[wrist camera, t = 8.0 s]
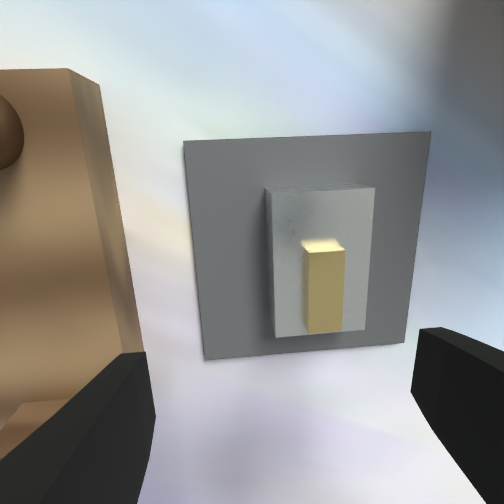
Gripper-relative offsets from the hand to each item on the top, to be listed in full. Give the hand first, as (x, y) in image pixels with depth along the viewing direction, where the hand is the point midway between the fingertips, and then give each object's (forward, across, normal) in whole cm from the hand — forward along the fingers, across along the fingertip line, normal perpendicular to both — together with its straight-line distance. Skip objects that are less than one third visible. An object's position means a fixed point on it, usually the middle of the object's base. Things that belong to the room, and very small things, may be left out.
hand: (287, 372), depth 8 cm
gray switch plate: (+9, -3, 0) cm, 10 cm away
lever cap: (+9, -3, 0) cm, 9 cm away
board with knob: (+10, +10, 0) cm, 14 cm away
